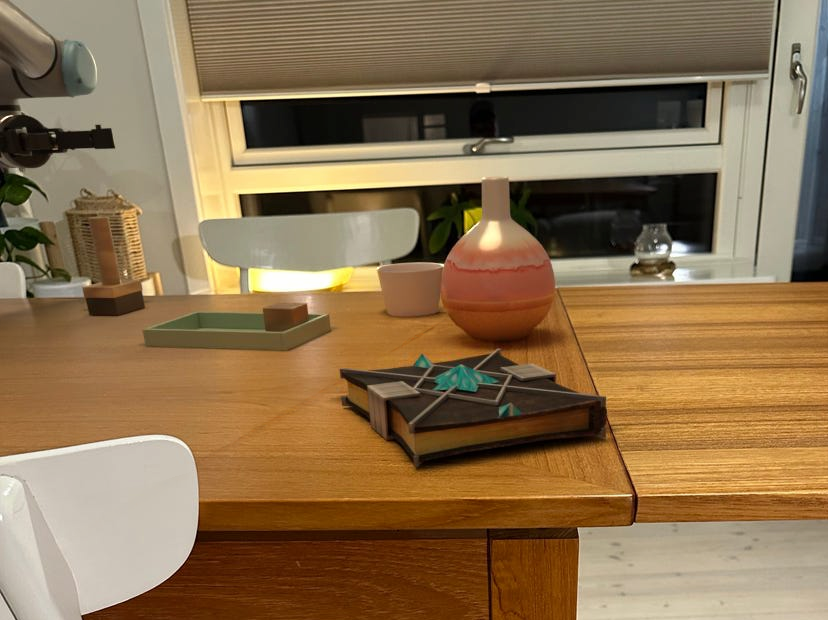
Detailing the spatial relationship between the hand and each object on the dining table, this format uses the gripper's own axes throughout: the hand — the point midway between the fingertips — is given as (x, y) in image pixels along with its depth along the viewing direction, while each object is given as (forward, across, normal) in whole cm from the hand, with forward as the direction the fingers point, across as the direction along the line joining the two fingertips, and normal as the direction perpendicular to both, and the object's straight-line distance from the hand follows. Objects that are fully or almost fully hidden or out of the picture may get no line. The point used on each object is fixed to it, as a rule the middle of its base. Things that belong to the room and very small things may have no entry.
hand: (64, 140), depth 138 cm
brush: (+7, 0, -23) cm, 24 cm away
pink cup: (+46, -27, -23) cm, 58 cm away
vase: (+66, -25, -23) cm, 75 cm away
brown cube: (+50, -6, -23) cm, 55 cm away
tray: (+44, -2, -23) cm, 50 cm away
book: (+92, +1, -24) cm, 95 cm away
